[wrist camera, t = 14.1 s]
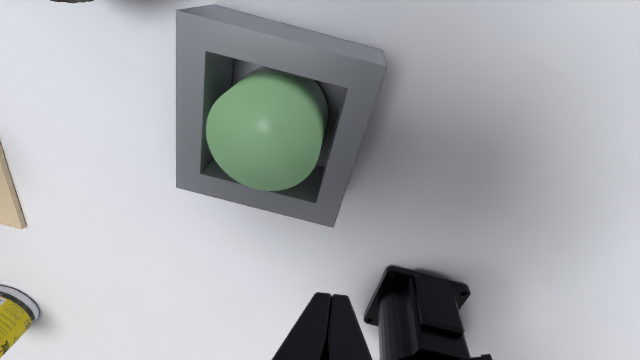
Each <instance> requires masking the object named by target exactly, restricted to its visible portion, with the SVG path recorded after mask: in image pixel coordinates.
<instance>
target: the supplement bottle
mask: <svg viewBox="0 0 640 360" xmlns="http://www.w3.org/2000/svg"><path fill="white" fill-rule="evenodd" d="M38 315H39V311H38V308H37V306H36V305H35V303H34V302H33V301H32V300H31V299H29V298H28V297H27V296H25V295H24V294H22V293H20V292H19V291H17V290H14V289H12V288H9V287H4V286H0V358H1V357H2V356H3V355H4V354H5V353H6V352H7V350H8V349H9V348H10V347H11V346H12V345H13V344H14V343H15V342H16V341H17V340H18V339H19V338H20V337H21V336H22V335H23V334H24V332H25V331H26V330H27V329H28V328H29V327H30V326H31V325H32V324H33V323H34V322H35V321H36V319H37V318H38Z"/></svg>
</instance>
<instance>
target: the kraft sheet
mask: <svg viewBox="0 0 640 360" xmlns="http://www.w3.org/2000/svg"><path fill="white" fill-rule="evenodd" d="M0 224H2V225H6V226H10V227H14V228H18V229H23V228H25V227H26V223H25V220H24V217H23V214H22V211H21V207H20V204H19V201H18V198H17V195H16V192H15V188H14V185H13V182H12V179H11V176H10V173H9V169H8V166H7V163H6V160H5V157H4V154H3V150H2V147H1V144H0Z"/></svg>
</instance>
